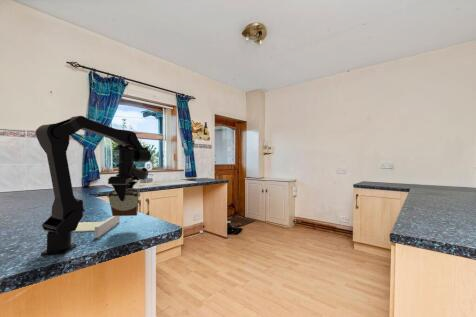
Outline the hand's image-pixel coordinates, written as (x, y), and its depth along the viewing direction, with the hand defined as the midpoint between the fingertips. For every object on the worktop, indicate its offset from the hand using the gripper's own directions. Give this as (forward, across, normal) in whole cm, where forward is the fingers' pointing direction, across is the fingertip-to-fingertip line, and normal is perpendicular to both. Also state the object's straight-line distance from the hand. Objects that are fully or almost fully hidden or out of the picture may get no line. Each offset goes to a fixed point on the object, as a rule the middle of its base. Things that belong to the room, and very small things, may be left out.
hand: (125, 199), depth 87 cm
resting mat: (+12, +5, +16) cm, 21 cm away
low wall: (+12, +1, +7) cm, 14 cm away
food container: (+6, +2, 0) cm, 6 cm away
